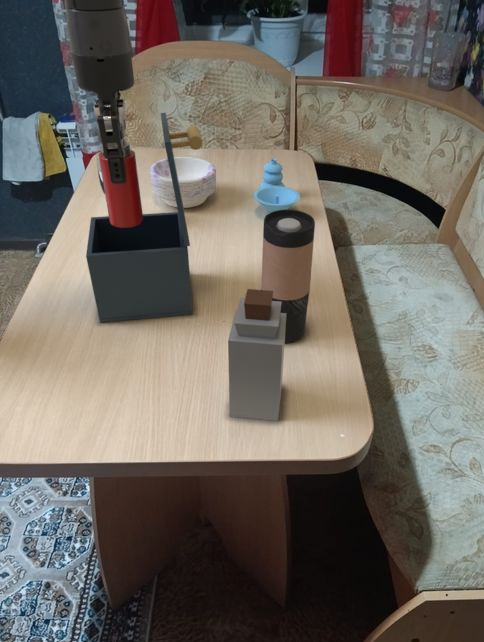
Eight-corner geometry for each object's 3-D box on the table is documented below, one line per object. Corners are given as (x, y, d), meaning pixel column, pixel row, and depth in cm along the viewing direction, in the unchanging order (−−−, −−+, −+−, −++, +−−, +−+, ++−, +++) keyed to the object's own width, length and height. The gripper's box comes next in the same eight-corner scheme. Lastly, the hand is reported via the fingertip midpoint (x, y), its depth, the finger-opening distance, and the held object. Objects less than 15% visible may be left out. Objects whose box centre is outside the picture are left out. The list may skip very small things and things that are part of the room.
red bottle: (102, 223, 85) (89, 145, 77) (124, 210, 89) (113, 135, 81) (129, 230, 83) (117, 152, 76) (149, 217, 87) (141, 141, 79)
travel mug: (296, 314, 95) (304, 206, 82) (312, 340, 89) (324, 228, 76) (254, 321, 93) (256, 212, 80) (268, 348, 87) (272, 235, 75)
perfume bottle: (236, 383, 81) (235, 280, 69) (281, 387, 80) (288, 284, 69) (229, 416, 75) (227, 310, 64) (278, 421, 75) (284, 315, 64)
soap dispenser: (301, 223, 122) (304, 184, 116) (255, 224, 121) (255, 185, 115) (291, 190, 136) (293, 154, 130) (249, 191, 135) (250, 154, 129)
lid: (164, 142, 75) (203, 136, 75) (160, 113, 85) (194, 108, 86) (185, 246, 85) (218, 241, 86) (179, 209, 96) (209, 204, 96)
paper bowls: (222, 210, 126) (221, 177, 121) (156, 216, 123) (152, 182, 118) (211, 185, 137) (209, 153, 132) (150, 189, 134) (146, 157, 129)
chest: (100, 323, 91) (85, 256, 83) (103, 280, 102) (91, 217, 94) (192, 314, 94) (187, 248, 86) (186, 273, 104) (181, 211, 96)
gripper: (75, 37, 75) (96, 158, 86) (65, 60, 64) (90, 196, 75) (130, 36, 76) (144, 156, 87) (129, 59, 66) (145, 193, 76)
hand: (119, 174), depth 81 cm, fingers closed on red bottle, 5 cm apart
